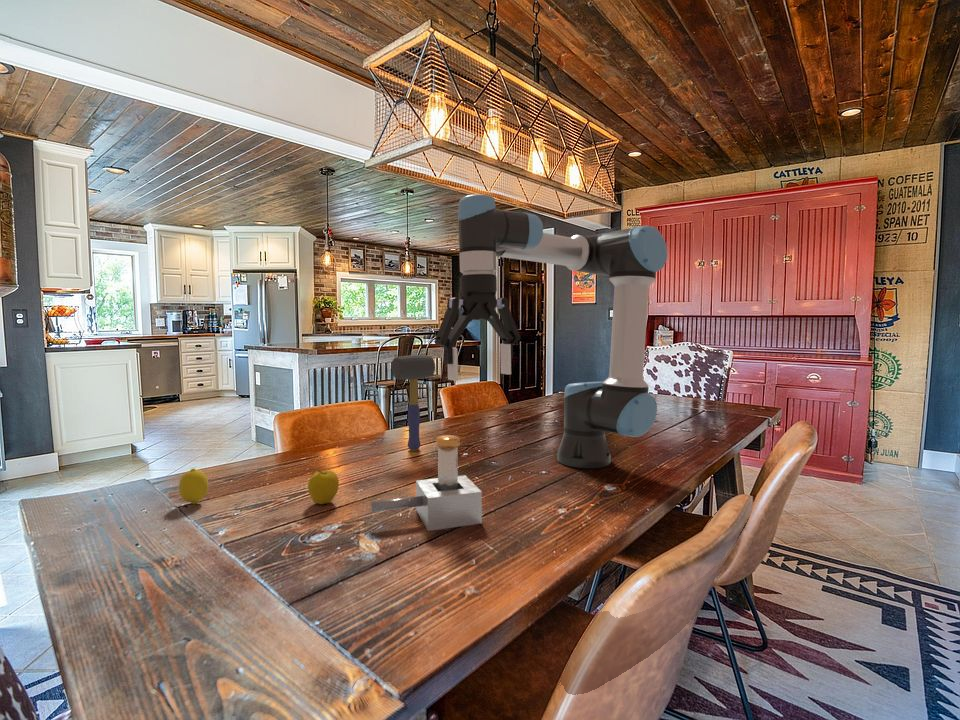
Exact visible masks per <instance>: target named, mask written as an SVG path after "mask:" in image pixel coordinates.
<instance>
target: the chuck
mask: <svg viewBox="0 0 960 720" xmlns="http://www.w3.org/2000/svg"><path fill="white" fill-rule="evenodd" d="M410 508H411V509H412V508H416V509H415V511H416V513H417V514H418V516H419V517H420V520H421V522H422V524H423V525H424V527H425V528H426V530H427V531H428V532H430V531H438V530H447V529H451V528H452V529H453V528H459V527H466V526H474V525H479V524H483V523H482V522H483V492H482V490H481V489H480V488H479V487H478V486H476V484H475V483H474V482H473V481H472V480H471V479H470V478H468V476H467V475H458V490H449V491H440V492H438V477H437V478H427V479H418V480H415V496H409V497H401V498H393V499H384V500H376V501H371V502H370V511H371V513H377V512H378V513H379V512H386V511H394V510H401V509H403V510H404V509H410Z"/></svg>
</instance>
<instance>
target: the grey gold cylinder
mask: <svg viewBox="0 0 960 720" xmlns="http://www.w3.org/2000/svg"><path fill="white" fill-rule="evenodd" d="M460 444H461V443H460V437H459V436H457V435H450V434H448V435H439V436H437V437H436V438H435V446H436V447H437V478H438V492H440V491H449V490H458V476H459V475H458V474H459V471H458V469H459V468H458V465H459V464H458V462H459V461H458V459H459V458H458V457H459V456H458V452H459V451H458V450H459V449H458V447H459V446H460Z"/></svg>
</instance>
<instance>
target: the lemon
mask: <svg viewBox="0 0 960 720" xmlns="http://www.w3.org/2000/svg"><path fill="white" fill-rule="evenodd" d="M178 490H179V495H180V497H181V499H182V500H183V501H185V502H188V503H191V504H193V505H196V504H197V503H198V502H199V501H201V500H202V499H204V498H205V497H206V495H207V493H208V491H209V481H208V477H207V475H206V474H205V473H204V471H201V470H200V469H196V468H191V469H190V470H188V471H186V472H185V473H184V474H183V475H182V476H181V478H180V481H179V485H178Z"/></svg>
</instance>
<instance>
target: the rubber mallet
mask: <svg viewBox="0 0 960 720" xmlns="http://www.w3.org/2000/svg"><path fill="white" fill-rule="evenodd" d="M435 370H436V363H435V360H434V358H433V357H432V356H431V355H428V354H427V355H425V354H424V355H423V354H411V355H410V354H408V355H403V356H395V357H394V358H393V359H392V362H391V373H392V376H393V377H394V378H395V380H409V404H408V410H407V424H408V441H407V448H408V449H409V451H413V452H415V451H416V452H417V451H419V450H420V447H421V440H420V424H421V423H420V422H421V413H420V406H419V394H418V393H419V389H418V388H419V385H418V383H419V382H418V381H419V380H418V379H424V378H430V377H432V376H434V374H435Z"/></svg>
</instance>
